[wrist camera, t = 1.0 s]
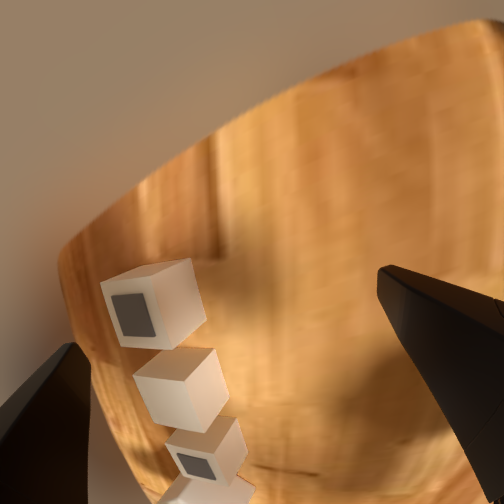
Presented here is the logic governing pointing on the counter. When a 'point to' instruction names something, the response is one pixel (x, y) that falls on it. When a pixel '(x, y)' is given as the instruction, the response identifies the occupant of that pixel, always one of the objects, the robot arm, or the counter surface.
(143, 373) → the plain cube
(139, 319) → the labelled cube
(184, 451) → the labelled cube a
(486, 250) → the counter surface
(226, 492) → the medicine bottle
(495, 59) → the counter surface
